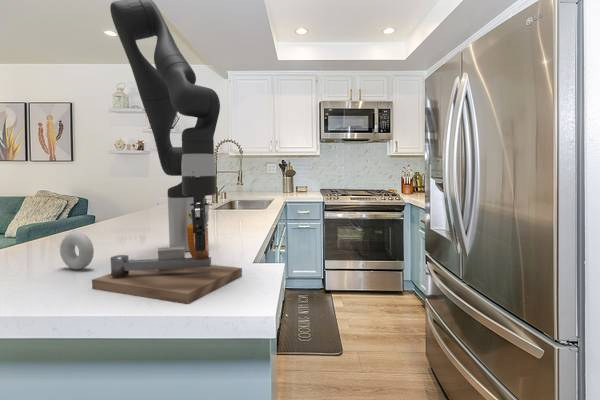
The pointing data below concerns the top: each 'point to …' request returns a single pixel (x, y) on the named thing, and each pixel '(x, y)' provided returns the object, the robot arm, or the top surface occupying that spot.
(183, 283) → the press board
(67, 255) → the donut
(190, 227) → the carrot
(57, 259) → the top surface
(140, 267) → the lever
